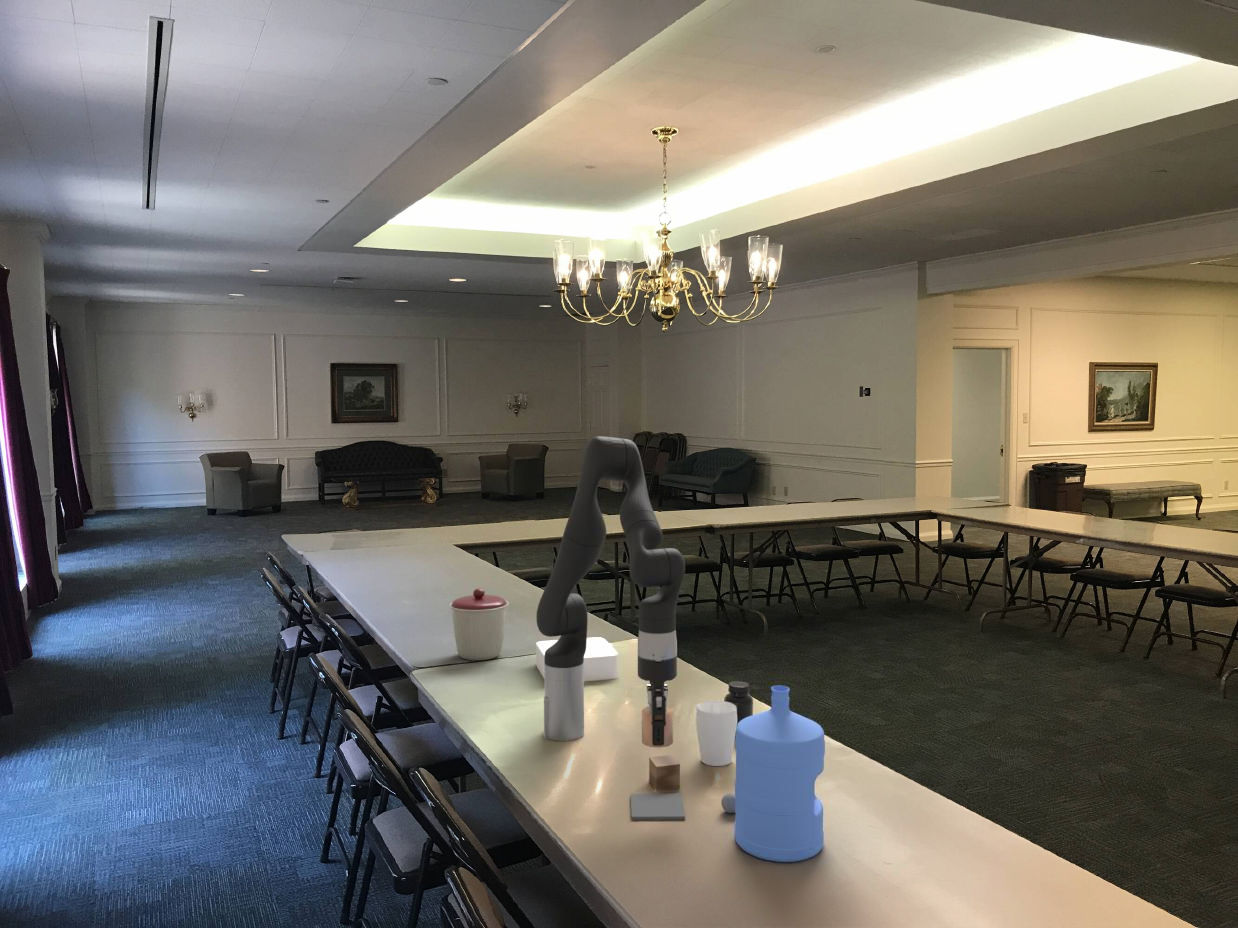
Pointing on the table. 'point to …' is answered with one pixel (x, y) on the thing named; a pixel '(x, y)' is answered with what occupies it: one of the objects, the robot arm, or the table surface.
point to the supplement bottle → (740, 699)
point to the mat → (657, 807)
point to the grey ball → (729, 802)
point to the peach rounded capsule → (648, 727)
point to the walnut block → (664, 772)
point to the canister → (479, 625)
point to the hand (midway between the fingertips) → (657, 738)
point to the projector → (588, 659)
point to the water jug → (779, 783)
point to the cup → (716, 731)
